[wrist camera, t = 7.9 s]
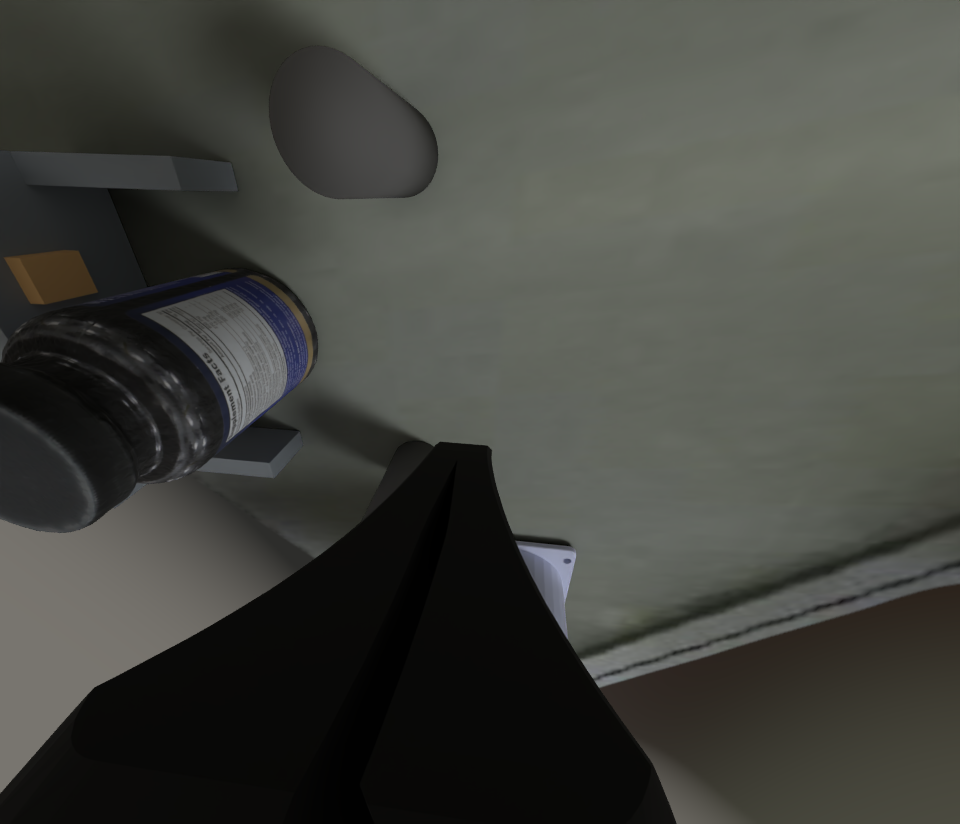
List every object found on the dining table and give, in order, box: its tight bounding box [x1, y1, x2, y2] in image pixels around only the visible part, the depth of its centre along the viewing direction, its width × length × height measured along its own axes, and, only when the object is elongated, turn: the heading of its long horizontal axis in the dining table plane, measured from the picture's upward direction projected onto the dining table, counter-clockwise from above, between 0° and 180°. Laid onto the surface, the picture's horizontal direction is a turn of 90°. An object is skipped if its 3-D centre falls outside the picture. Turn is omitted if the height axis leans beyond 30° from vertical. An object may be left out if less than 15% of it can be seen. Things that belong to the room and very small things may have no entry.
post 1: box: [269, 46, 438, 199], centre depth 12 cm, size 3×3×6 cm
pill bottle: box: [0, 268, 318, 533], centre depth 14 cm, size 6×6×11 cm
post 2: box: [361, 441, 434, 522], centre depth 19 cm, size 3×3×6 cm
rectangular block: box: [0, 150, 303, 508], centre depth 16 cm, size 14×7×6 cm, turn 178°
